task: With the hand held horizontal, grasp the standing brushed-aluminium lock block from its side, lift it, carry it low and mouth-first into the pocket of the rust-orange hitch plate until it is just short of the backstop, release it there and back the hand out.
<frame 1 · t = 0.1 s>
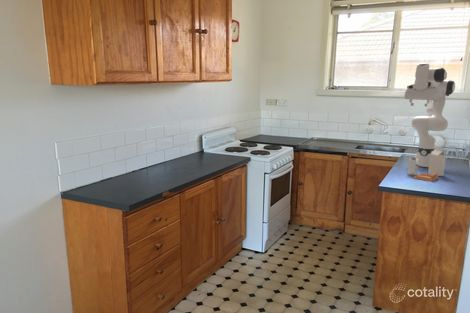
hand: (418, 106, 274), 48 cm above the worktop, tool pointing down, fingers open, 8 cm apart
milk carton: (435, 175, 273), on the worktop
lock: (411, 174, 275), on the worktop
coupler: (425, 178, 263), on the worktop
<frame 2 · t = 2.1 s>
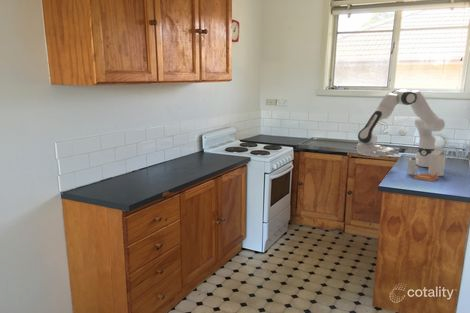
hand: (396, 153, 280), 13 cm above the worktop, tool horizontal, fingers open, 8 cm apart
nothing on the worktop moved.
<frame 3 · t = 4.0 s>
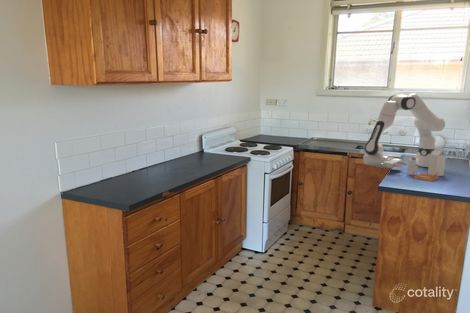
hand: (404, 164, 277), 6 cm above the worktop, tool horizontal, fingers open, 8 cm apart
nothing on the worktop moved.
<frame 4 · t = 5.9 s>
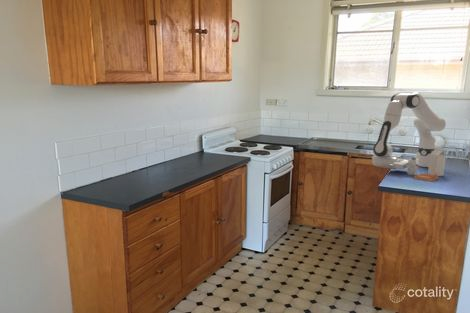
hand: (414, 166, 273), 6 cm above the worktop, tool horizontal, fingers closed on lock, 5 cm apart
lock: (411, 174, 275), on the worktop, touching gripper
everything else where it was.
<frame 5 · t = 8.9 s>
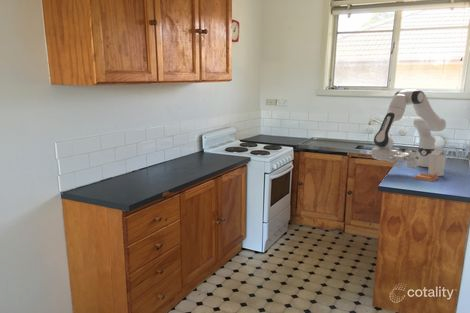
hand: (414, 158, 265), 13 cm above the worktop, tool horizontal, fingers closed on lock, 5 cm apart
lock: (412, 167, 267), point 7 cm above the worktop, touching gripper
everything else where it was.
when the fingers open (8 cm above the worktop, at t = 12.0 s): lock drops 1 cm, resting on coupler.
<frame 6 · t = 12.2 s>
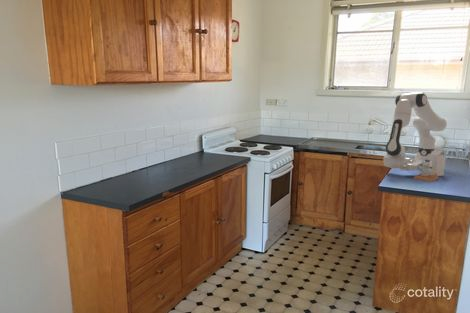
hand: (428, 167, 260), 8 cm above the worktop, tool horizontal, fingers open, 7 cm apart
lock: (425, 177, 262), point 1 cm above the worktop, touching coupler
everything else where it was.
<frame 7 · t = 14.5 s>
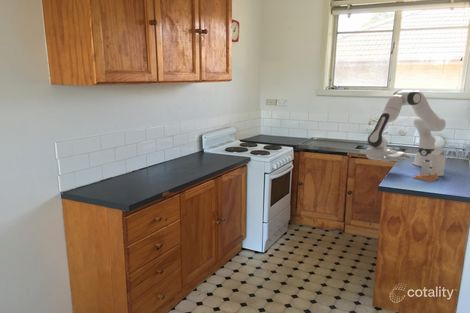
hand: (407, 157, 270), 12 cm above the worktop, tool horizontal, fingers open, 8 cm apart
nothing on the worktop moved.
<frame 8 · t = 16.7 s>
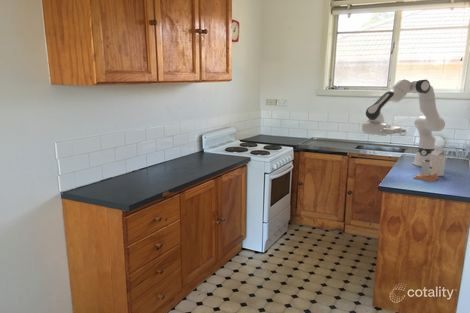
hand: (403, 131, 273), 30 cm above the worktop, tool horizontal, fingers open, 8 cm apart
nothing on the worktop moved.
at the end: lock inside the target area on the coupler (0.4 cm from its centre), point 1.0 cm above the coupler's base; lock tilted 0°; the gripper is holding nothing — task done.
